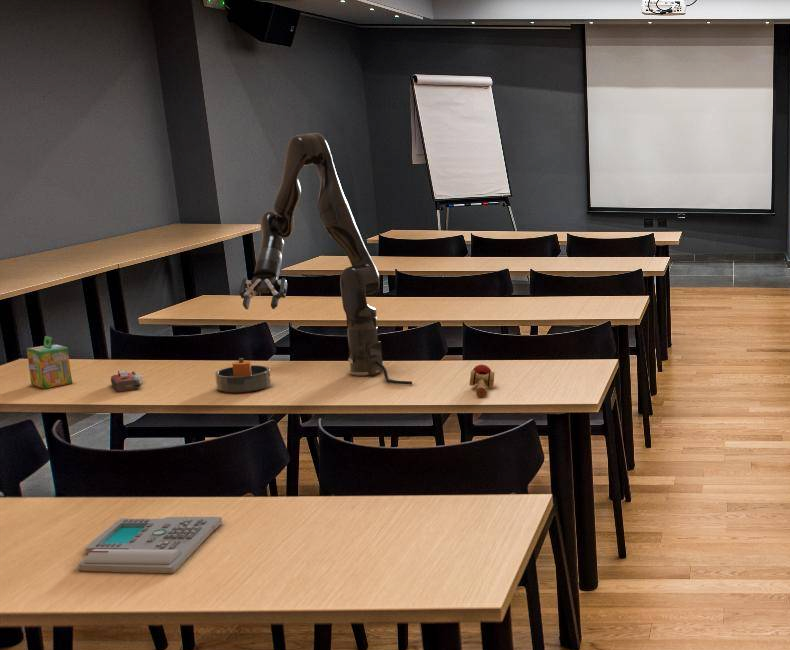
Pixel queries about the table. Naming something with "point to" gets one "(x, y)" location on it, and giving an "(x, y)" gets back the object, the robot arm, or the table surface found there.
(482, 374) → the kendama
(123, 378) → the grey and red device
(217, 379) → the bowl
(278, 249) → the robot arm
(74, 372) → the table surface
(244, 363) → the squash
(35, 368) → the chalk box
